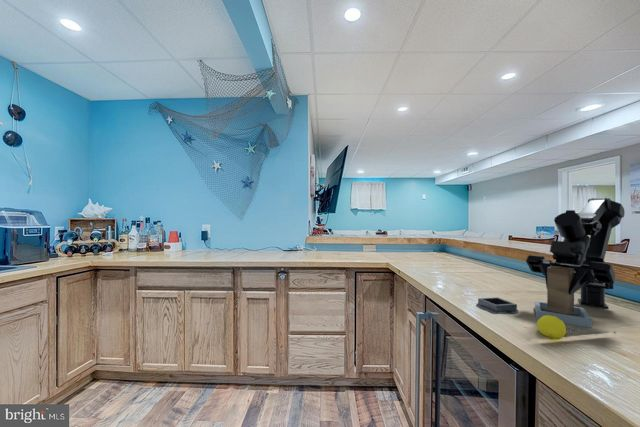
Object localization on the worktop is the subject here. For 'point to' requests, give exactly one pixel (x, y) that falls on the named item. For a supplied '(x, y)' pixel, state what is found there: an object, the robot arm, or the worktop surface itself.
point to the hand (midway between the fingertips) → (558, 291)
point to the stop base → (497, 305)
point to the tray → (569, 319)
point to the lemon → (551, 327)
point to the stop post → (560, 289)
